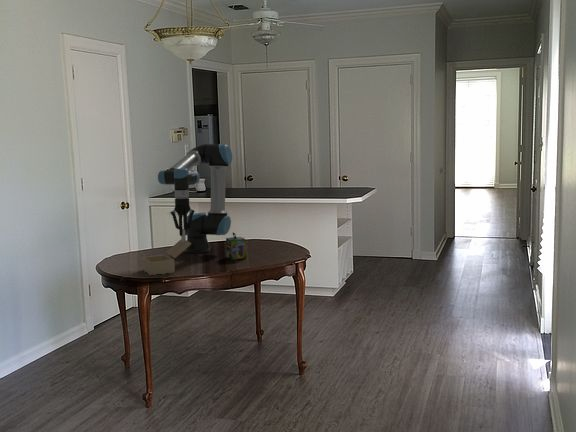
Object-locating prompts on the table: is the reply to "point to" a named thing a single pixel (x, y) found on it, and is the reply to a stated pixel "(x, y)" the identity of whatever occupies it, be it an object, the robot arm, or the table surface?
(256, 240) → the table surface
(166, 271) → the box
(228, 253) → the colorful juice box
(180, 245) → the lid
